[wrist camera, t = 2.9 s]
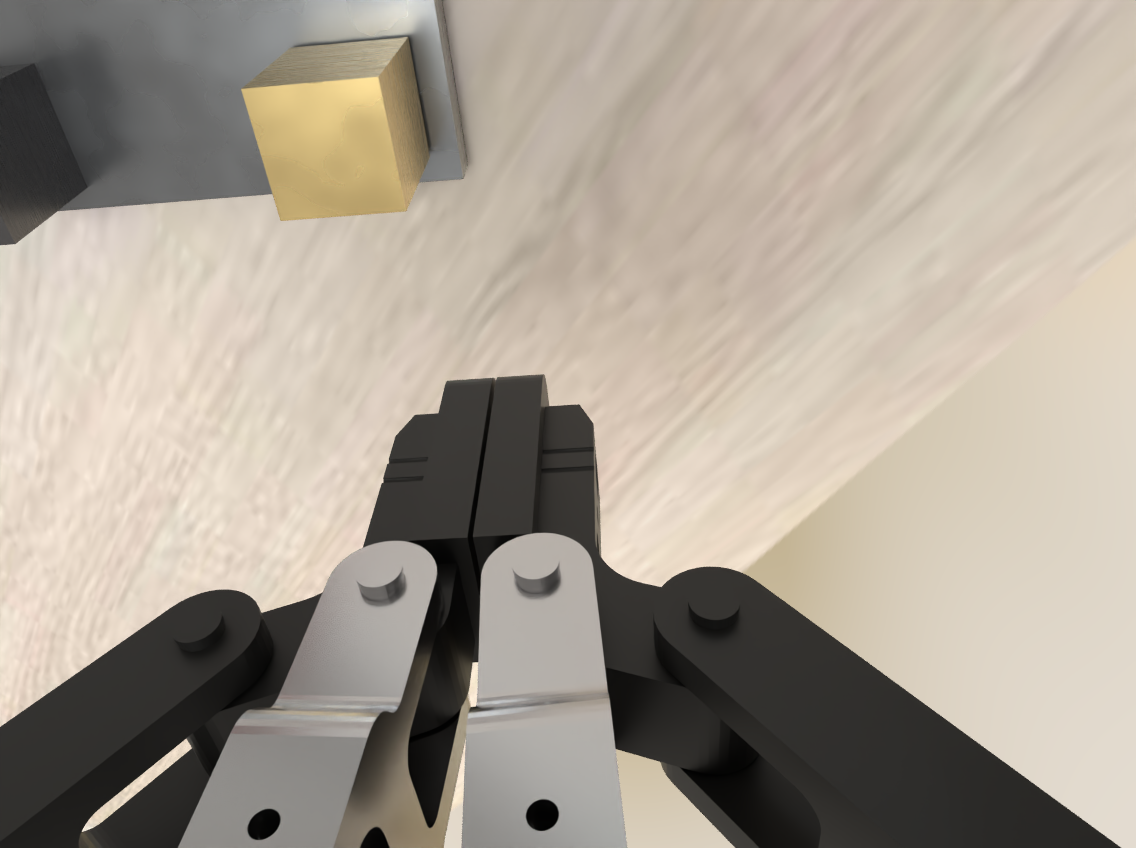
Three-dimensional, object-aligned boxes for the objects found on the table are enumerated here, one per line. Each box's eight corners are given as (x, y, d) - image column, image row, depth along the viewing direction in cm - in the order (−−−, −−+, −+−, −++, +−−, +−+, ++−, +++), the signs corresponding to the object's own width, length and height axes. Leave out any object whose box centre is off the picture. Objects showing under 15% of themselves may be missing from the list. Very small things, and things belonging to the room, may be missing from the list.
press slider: (408, 36, 28) (378, 76, 24) (430, 156, 31) (405, 211, 27) (290, 47, 29) (240, 89, 25) (320, 165, 31) (280, 220, 27)
